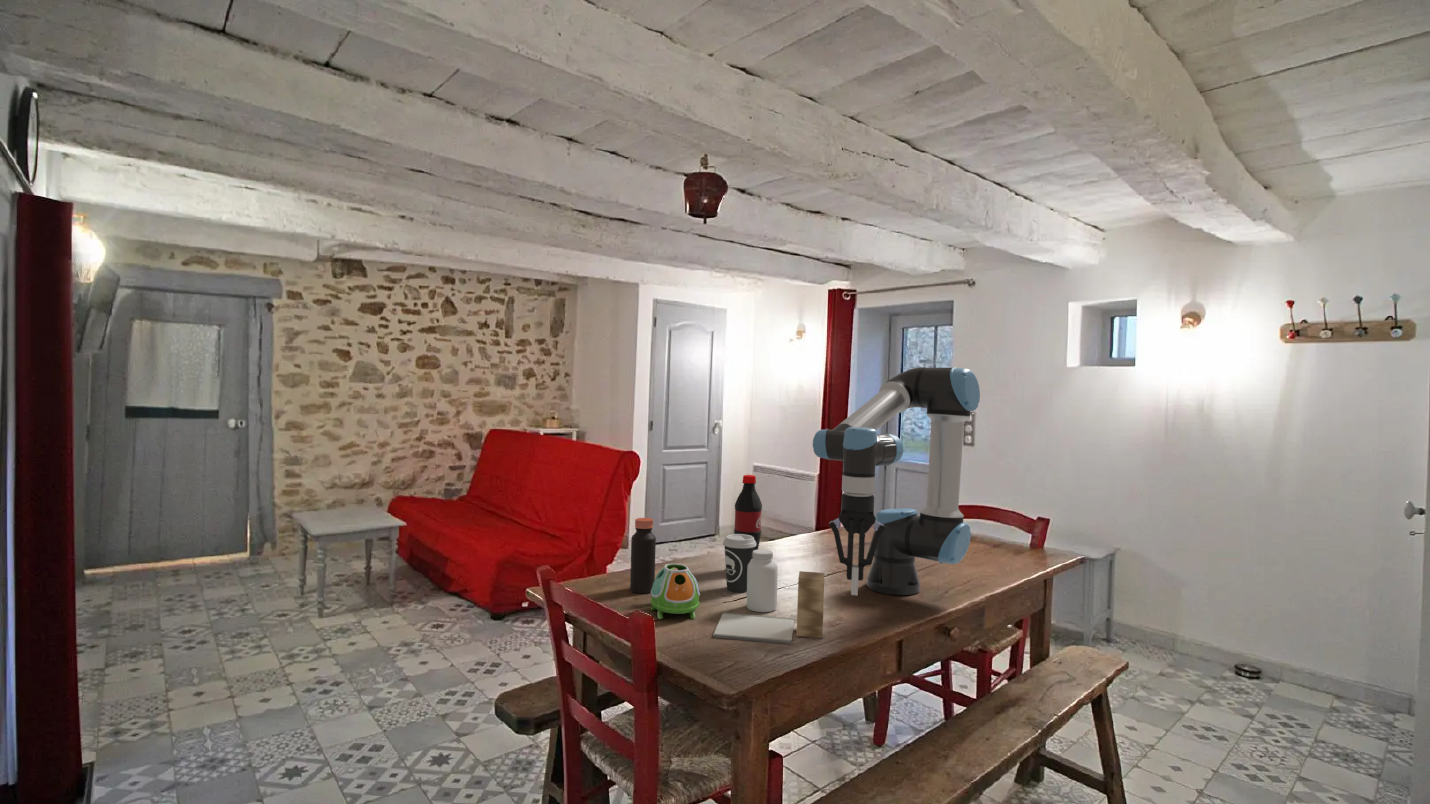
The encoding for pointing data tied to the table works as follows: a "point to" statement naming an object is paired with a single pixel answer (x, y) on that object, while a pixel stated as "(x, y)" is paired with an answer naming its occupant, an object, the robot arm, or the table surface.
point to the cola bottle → (748, 510)
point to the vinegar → (642, 557)
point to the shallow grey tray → (755, 628)
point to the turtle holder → (675, 591)
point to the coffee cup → (738, 560)
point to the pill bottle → (762, 582)
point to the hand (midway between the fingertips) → (854, 593)
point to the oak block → (810, 605)
